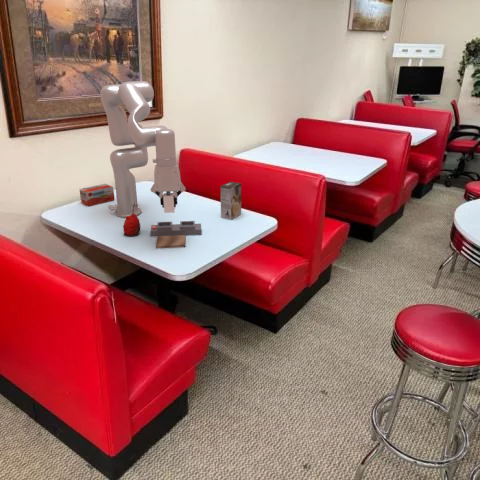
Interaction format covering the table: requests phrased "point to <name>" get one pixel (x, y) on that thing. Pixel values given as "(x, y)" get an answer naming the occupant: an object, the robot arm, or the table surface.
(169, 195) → the plug
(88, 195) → the medicine box
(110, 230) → the table surface
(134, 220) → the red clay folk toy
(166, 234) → the power strip
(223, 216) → the coffee box
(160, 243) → the walnut mat
